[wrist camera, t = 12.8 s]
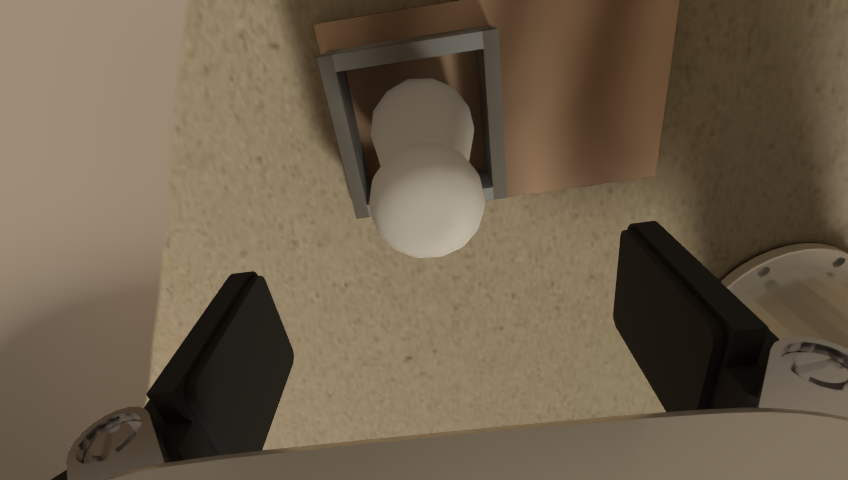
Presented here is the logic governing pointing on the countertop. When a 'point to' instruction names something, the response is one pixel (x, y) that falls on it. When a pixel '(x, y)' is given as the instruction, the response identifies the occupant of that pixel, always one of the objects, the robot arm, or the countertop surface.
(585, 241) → the countertop surface
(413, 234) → the salt shaker
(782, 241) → the countertop surface
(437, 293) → the countertop surface
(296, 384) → the countertop surface
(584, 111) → the shaker caddy
